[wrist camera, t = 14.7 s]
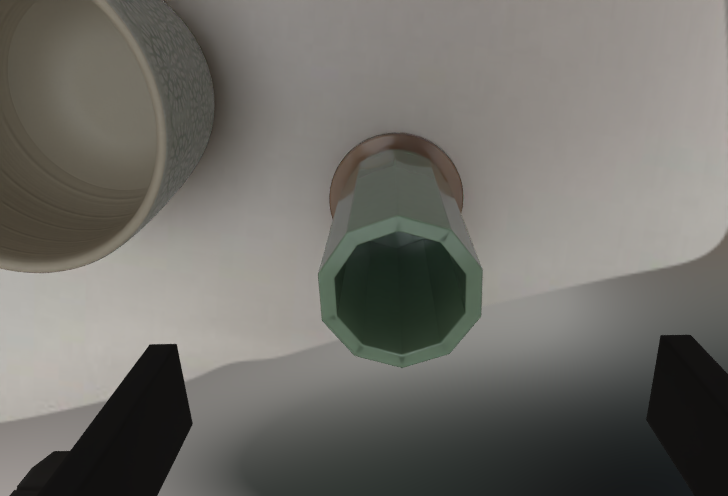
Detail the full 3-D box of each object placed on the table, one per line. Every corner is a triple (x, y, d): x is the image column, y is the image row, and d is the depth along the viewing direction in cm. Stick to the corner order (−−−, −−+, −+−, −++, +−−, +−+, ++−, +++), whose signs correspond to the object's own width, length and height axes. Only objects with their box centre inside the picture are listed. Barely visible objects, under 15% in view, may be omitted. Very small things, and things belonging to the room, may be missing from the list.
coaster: (463, 129, 31) (464, 131, 30) (461, 257, 34) (462, 261, 33) (325, 135, 31) (324, 137, 31) (334, 261, 34) (333, 264, 34)
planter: (191, -70, 28) (79, -123, 18) (268, 169, 32) (214, 236, 22) (-30, -1, 29) (-249, -14, 19) (72, 218, 34) (-62, 302, 24)
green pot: (449, 144, 31) (484, 212, 20) (448, 251, 33) (480, 366, 22) (339, 148, 31) (312, 218, 20) (346, 254, 33) (325, 369, 22)
